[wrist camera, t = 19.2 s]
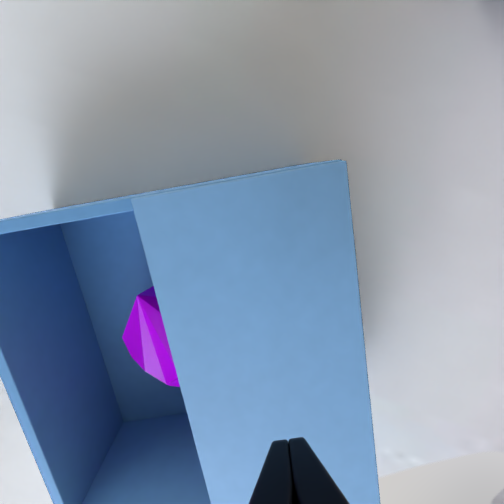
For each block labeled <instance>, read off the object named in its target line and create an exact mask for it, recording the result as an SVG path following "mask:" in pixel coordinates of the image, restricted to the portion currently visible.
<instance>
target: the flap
mask: <svg viewBox="0 0 504 504" xmlns="http://www.w3.org/2000/svg"><path fill="white" fill-rule="evenodd" d="M131 202H132V206H133V210H134V214H135V217H136V221H137V225H138V229H139V233H140V236H141V240H142V244H143V248H144V252H145V255H146V259H147V263H148V267H149V271H150V274H151V278H152V282H153V286H154V289H155V293H156V297H157V301H158V305H159V308H160V312H161V316H162V320H163V324H164V327H165V331H166V335H167V339H168V343H169V346H170V350H171V354H172V358H173V362H174V365H175V369H176V373H177V377H178V380H179V384H180V388H181V392H182V396H183V399H184V403H185V407H186V411H187V415H188V418H189V422H190V426H191V430H192V434H193V437H194V441H195V445H196V449H197V453H198V456H199V460H200V464H201V468H202V471H203V475H204V479H205V483H206V487H207V490H208V494H209V498H210V502H211V504H249V502H250V499H251V496H252V494H253V491H254V488H255V486H256V483H257V480H258V478H259V475H260V472H261V470H262V467H263V464H264V462H265V459H266V456H267V454H268V451H269V448H270V446H271V443H272V442H273V441H276V440H283V439H286V440H288V443H289V439H291V438H298V437H303V438H305V440H306V441H307V442H308V444H309V445H310V447H311V448H312V450H313V451H314V453H315V454H316V455H317V457H318V458H319V460H320V461H321V463H322V464H323V466H324V467H325V469H326V470H327V471H328V473H329V474H330V476H331V477H332V479H333V480H334V482H335V483H336V485H337V486H338V487H339V489H340V490H341V492H342V493H343V495H344V496H345V498H346V499H347V500H348V502H349V503H350V504H380V496H379V495H380V494H379V484H378V474H377V464H376V454H375V444H374V434H373V424H372V414H371V404H370V394H369V384H368V374H367V364H366V354H365V344H364V333H363V323H362V313H361V303H360V293H359V283H358V273H357V263H356V253H355V243H354V233H353V223H352V213H351V203H350V193H349V183H348V173H347V163H346V161H339V162H333V163H328V164H322V165H316V166H311V167H305V168H300V169H294V170H288V171H283V172H277V173H272V174H266V175H261V176H255V177H249V178H244V179H238V180H233V181H227V182H221V183H216V184H210V185H205V186H199V187H193V188H188V189H182V190H177V191H171V192H166V193H160V194H154V195H149V196H143V197H138V198H133V199H131Z"/></svg>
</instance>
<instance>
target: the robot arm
mask: <svg viewBox="0 0 504 504" xmlns="http://www.w3.org/2000/svg"><path fill="white" fill-rule="evenodd" d="M249 504H350V503H349V502H348V500H347V499H346V498H345V496H344V495H343V493H342V492H341V490H340V489H339V487H338V486H337V485H336V483H335V482H334V480H333V479H332V477H331V476H330V474H329V473H328V471H327V470H326V469H325V467H324V466H323V464H322V463H321V461H320V460H319V458H318V457H317V455H316V454H315V453H314V451H313V450H312V448H311V447H310V445H309V444H308V442H307V441H306V440H305V438H303V437H298V438H291V439H289V443H288V440H286V439H283V440H276V441H273V442H272V443H271V446H270V448H269V451H268V454H267V456H266V459H265V462H264V464H263V467H262V470H261V472H260V475H259V478H258V480H257V483H256V486H255V488H254V491H253V494H252V496H251V499H250V502H249Z"/></svg>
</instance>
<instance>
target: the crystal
mask: <svg viewBox="0 0 504 504" xmlns="http://www.w3.org/2000/svg"><path fill="white" fill-rule="evenodd" d="M122 339H123V341H124V343H125V345H126V347H127V349H128V351H129V353H130V355H131V357H132V358H133V359H134V360H135V361H136V362H137V363H138V364H139V365H140V367H141V368H142V369H143V370H144V371H145V372H147V373H149V374H150V375H152V376H153V377H155V378H157V379H158V380H160V381H162V382H163V383H165V384H166V385H169V386H175V387H180V384H179V380H178V377H177V373H176V369H175V365H174V362H173V358H172V354H171V350H170V346H169V343H168V339H167V335H166V331H165V327H164V324H163V320H162V316H161V312H160V308H159V305H158V301H157V297H156V293H155V289H154V286H152V287H150V288H149V289H147V290H145V291H144V292H142V293H140V294H138V295H137V297H136V300H135V302H134V305H133V308H132V311H131V314H130V316H129V319H128V322H127V325H126V328H125V331H124V333H123V336H122Z"/></svg>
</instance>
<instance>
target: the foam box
mask: <svg viewBox="0 0 504 504" xmlns="http://www.w3.org/2000/svg"><path fill="white" fill-rule="evenodd" d="M339 161H342V160H331V161H323V162H314V163H307V164H301V165H295V166H290V167H284V168H279V169H273V170H268V171H262V172H257V173H251V174H245V175H240V176H234V177H229V178H223V179H218V180H212V181H206V182H201V183H195V184H190V185H184V186H179V187H173V188H167V189H162V190H156V191H151V192H145V193H140V194H134V195H128V196H123V197H117V198H112V199H106V200H101V201H95V202H89V203H84V204H78V205H73V206H67V207H62V208H56V209H51V210H46V211H41V212H35V213H30V214H25V215H20V216H15V217H10V218H5V219H0V377H1V379H2V381H3V384H4V386H5V389H6V391H7V393H8V396H9V398H10V401H11V403H12V405H13V408H14V410H15V413H16V415H17V417H18V420H19V422H20V425H21V427H22V429H23V432H24V434H25V437H26V439H27V441H28V444H29V446H30V449H31V451H32V453H33V456H34V458H35V461H36V463H37V465H38V468H39V470H40V473H41V475H42V477H43V480H44V482H45V485H46V487H47V489H48V492H49V494H50V497H51V499H52V501H53V504H211V502H210V498H209V494H208V490H207V487H206V483H205V479H204V475H203V471H202V468H201V464H200V460H199V456H198V453H197V449H196V445H195V441H194V437H193V434H192V430H191V426H190V422H189V418H188V415H187V411H186V407H185V403H184V399H183V396H182V392H181V388H180V387H175V386H169V385H166V384H165V383H163V382H162V381H160V380H158V379H157V378H155V377H153V376H152V375H150V374H149V373H147V372H145V371H144V370H143V369H142V368H141V367H140V365H139V364H138V363H137V362H136V361H135V360H134V359H133V358H132V357H131V355H130V353H129V351H128V349H127V347H126V345H125V343H124V341H123V339H122V336H123V333H124V331H125V328H126V325H127V322H128V319H129V316H130V314H131V311H132V308H133V305H134V302H135V300H136V297H137V295H138V294H140V293H142V292H144V291H145V290H147V289H149V288H150V287H152V286H153V282H152V278H151V274H150V271H149V267H148V263H147V259H146V255H145V252H144V248H143V244H142V240H141V236H140V233H139V229H138V225H137V221H136V217H135V214H134V210H133V206H132V202H131V199H133V198H138V197H143V196H149V195H154V194H160V193H166V192H171V191H177V190H182V189H188V188H193V187H199V186H205V185H210V184H216V183H221V182H227V181H233V180H238V179H244V178H249V177H255V176H261V175H266V174H272V173H277V172H283V171H288V170H294V169H300V168H305V167H311V166H316V165H322V164H328V163H333V162H339Z"/></svg>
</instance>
